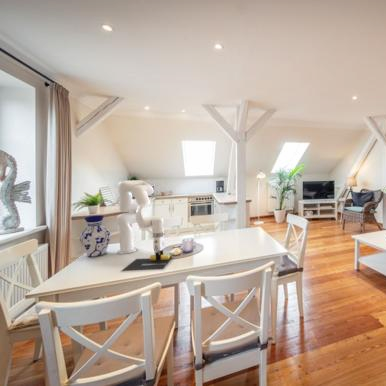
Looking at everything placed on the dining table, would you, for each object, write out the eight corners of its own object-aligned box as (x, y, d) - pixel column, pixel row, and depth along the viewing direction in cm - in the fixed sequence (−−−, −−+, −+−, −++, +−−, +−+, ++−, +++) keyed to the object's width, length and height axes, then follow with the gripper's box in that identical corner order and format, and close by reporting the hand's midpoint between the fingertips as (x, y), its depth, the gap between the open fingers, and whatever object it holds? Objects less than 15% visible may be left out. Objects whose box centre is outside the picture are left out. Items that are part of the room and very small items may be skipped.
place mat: (136, 259, 166) (136, 259, 166) (172, 258, 169) (172, 257, 169) (121, 271, 146) (121, 270, 146) (162, 269, 149) (162, 269, 149)
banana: (172, 258, 167) (172, 253, 166) (170, 260, 163) (170, 255, 162) (150, 259, 165) (150, 254, 165) (148, 261, 161) (148, 256, 161)
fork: (141, 266, 154) (141, 265, 154) (142, 264, 156) (142, 263, 156) (164, 265, 156) (164, 264, 156) (166, 263, 158) (166, 263, 158)
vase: (81, 261, 162) (78, 221, 159) (80, 254, 176) (77, 216, 173) (113, 254, 175) (110, 217, 172) (110, 248, 189) (107, 213, 186)
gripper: (159, 237, 154) (160, 263, 156) (168, 231, 171) (169, 254, 172) (147, 238, 153) (149, 263, 155) (157, 231, 170) (158, 254, 172)
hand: (159, 258), depth 164 cm, fingers closed on banana, 4 cm apart
